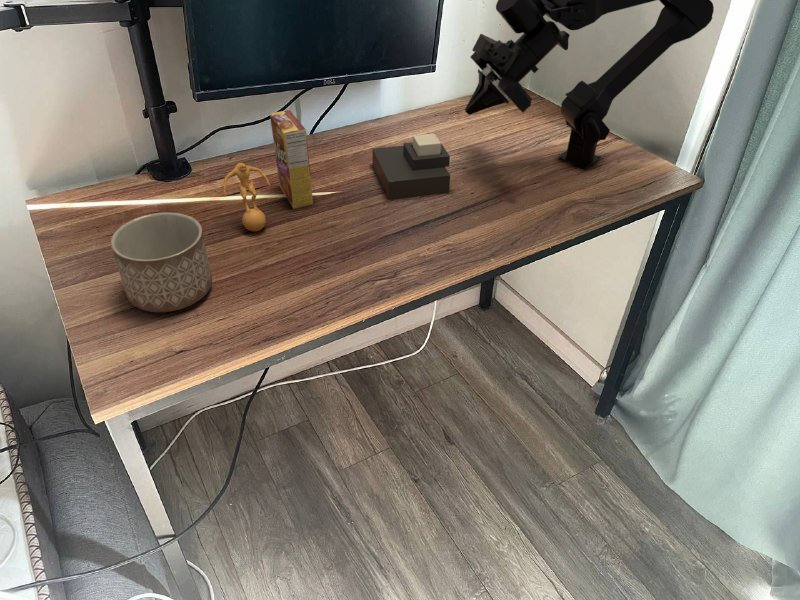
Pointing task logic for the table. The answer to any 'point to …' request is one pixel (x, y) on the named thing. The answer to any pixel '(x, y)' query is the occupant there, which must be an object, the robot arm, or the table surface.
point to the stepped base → (411, 171)
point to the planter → (162, 261)
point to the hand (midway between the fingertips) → (466, 112)
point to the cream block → (426, 145)
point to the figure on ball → (251, 217)
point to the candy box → (292, 158)
